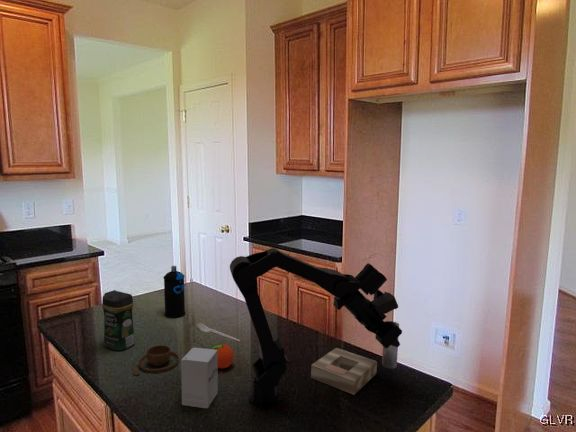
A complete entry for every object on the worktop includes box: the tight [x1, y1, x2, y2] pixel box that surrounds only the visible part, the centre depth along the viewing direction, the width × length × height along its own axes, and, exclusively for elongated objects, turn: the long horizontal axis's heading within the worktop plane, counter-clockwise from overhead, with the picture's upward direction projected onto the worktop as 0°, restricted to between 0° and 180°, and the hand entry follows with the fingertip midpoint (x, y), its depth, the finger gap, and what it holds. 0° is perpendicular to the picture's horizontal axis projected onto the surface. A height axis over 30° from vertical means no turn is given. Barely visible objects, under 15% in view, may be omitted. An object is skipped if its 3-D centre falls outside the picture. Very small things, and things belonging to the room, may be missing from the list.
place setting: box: [130, 344, 180, 376], centre depth 124 cm, size 18×20×6 cm
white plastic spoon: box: [196, 322, 241, 342], centre depth 149 cm, size 3×20×2 cm, turn 56°
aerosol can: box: [162, 265, 186, 319], centre depth 165 cm, size 8×8×20 cm
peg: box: [381, 320, 400, 369], centre depth 115 cm, size 4×4×12 cm
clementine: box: [210, 343, 235, 369], centre depth 125 cm, size 8×7×7 cm
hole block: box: [310, 347, 378, 396], centre depth 121 cm, size 14×14×4 cm
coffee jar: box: [101, 289, 136, 352], centre depth 138 cm, size 10×8×19 cm
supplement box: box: [180, 347, 219, 409], centre depth 108 cm, size 7×7×13 cm
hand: (395, 342), depth 115 cm, fingers closed on peg, 4 cm apart
